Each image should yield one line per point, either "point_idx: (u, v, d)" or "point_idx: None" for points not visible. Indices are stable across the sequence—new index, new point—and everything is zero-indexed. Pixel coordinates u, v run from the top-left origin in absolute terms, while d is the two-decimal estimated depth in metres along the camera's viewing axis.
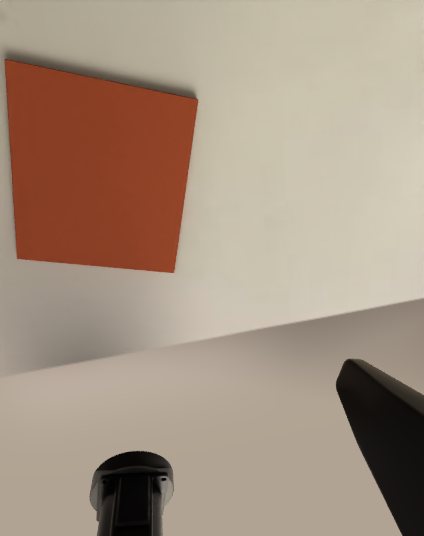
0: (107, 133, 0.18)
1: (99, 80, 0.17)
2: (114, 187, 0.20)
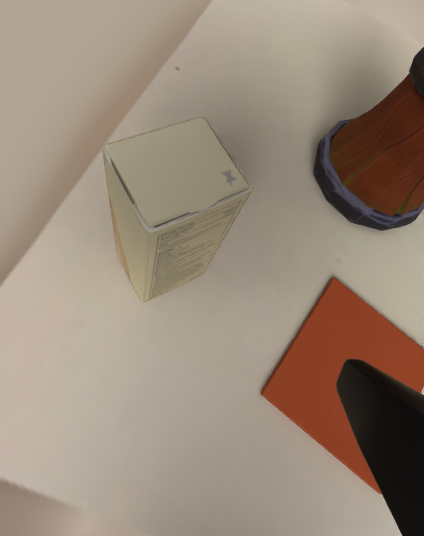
0: (372, 344, 0.24)
1: (379, 314, 0.26)
2: None
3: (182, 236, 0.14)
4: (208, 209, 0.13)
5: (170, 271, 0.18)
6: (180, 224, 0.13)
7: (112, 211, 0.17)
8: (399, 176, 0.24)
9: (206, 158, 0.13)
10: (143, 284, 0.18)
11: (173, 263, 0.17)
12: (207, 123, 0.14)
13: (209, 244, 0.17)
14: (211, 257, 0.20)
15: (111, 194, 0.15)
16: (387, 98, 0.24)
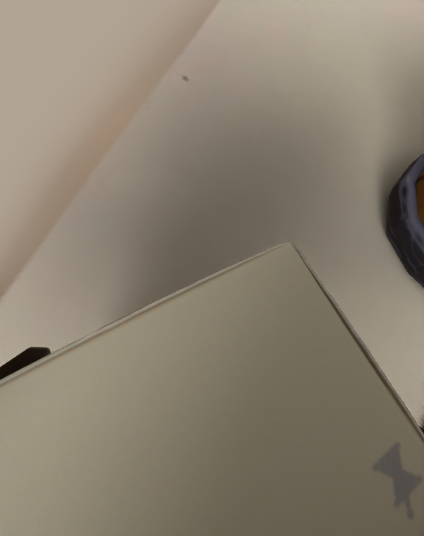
0: None
1: None
2: None
3: None
4: None
5: None
6: None
7: None
8: None
9: (319, 408, 0.04)
10: None
11: None
12: (304, 265, 0.05)
13: None
14: None
15: None
16: None
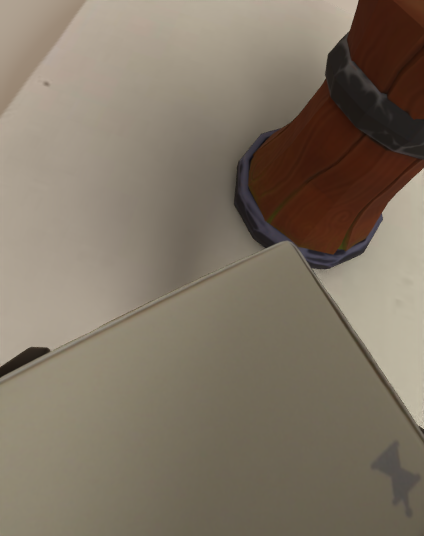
0: None
1: None
2: None
3: None
4: None
5: None
6: None
7: None
8: (331, 212, 0.18)
9: (317, 406, 0.04)
10: None
11: None
12: (303, 264, 0.05)
13: None
14: None
15: None
16: (306, 109, 0.18)
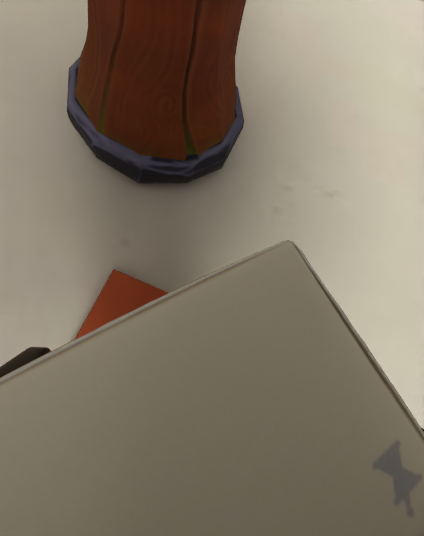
0: None
1: None
2: None
3: None
4: None
5: None
6: None
7: None
8: (150, 99, 0.16)
9: (318, 406, 0.04)
10: None
11: None
12: (304, 264, 0.05)
13: None
14: None
15: None
16: None
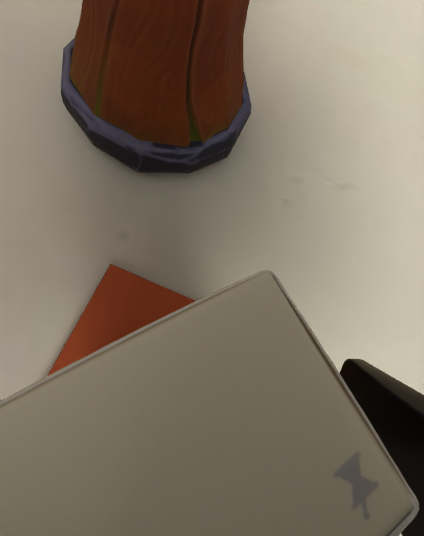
0: None
1: (193, 301, 0.16)
2: None
3: None
4: None
5: None
6: None
7: None
8: (151, 76, 0.15)
9: (288, 420, 0.05)
10: None
11: None
12: (280, 292, 0.05)
13: None
14: None
15: None
16: None
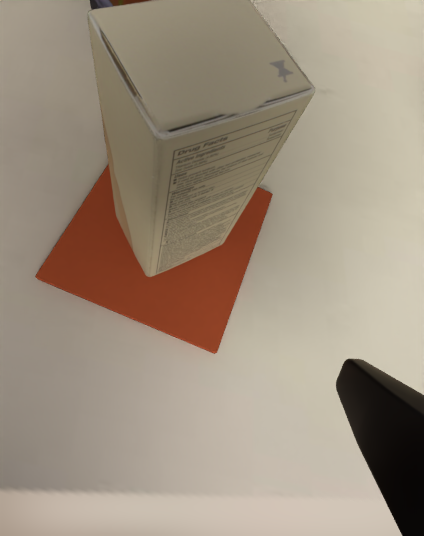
0: None
1: None
2: None
3: (208, 164, 0.09)
4: (253, 113, 0.08)
5: (185, 231, 0.13)
6: (208, 135, 0.08)
7: (107, 144, 0.12)
8: None
9: (247, 40, 0.09)
10: (149, 248, 0.14)
11: (190, 217, 0.12)
12: None
13: (239, 193, 0.13)
14: (236, 219, 0.16)
15: (104, 108, 0.10)
16: None
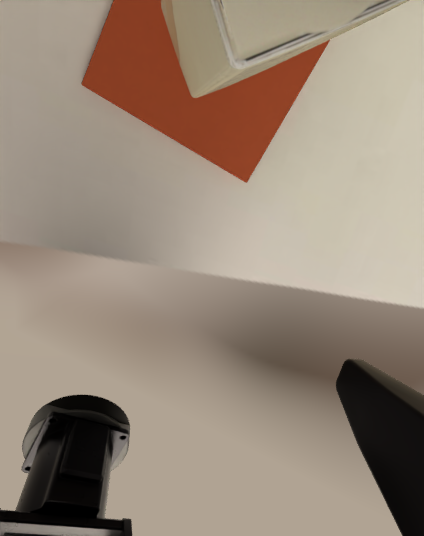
0: None
1: None
2: None
3: (280, 58, 0.09)
4: (345, 27, 0.07)
5: (240, 79, 0.13)
6: (287, 52, 0.07)
7: None
8: None
9: None
10: (200, 90, 0.13)
11: (248, 75, 0.12)
12: None
13: (309, 48, 0.11)
14: None
15: None
16: None
